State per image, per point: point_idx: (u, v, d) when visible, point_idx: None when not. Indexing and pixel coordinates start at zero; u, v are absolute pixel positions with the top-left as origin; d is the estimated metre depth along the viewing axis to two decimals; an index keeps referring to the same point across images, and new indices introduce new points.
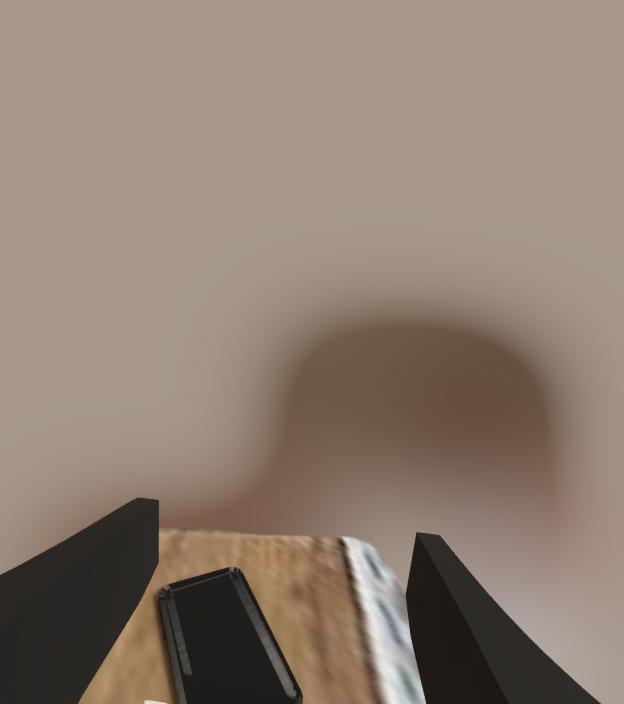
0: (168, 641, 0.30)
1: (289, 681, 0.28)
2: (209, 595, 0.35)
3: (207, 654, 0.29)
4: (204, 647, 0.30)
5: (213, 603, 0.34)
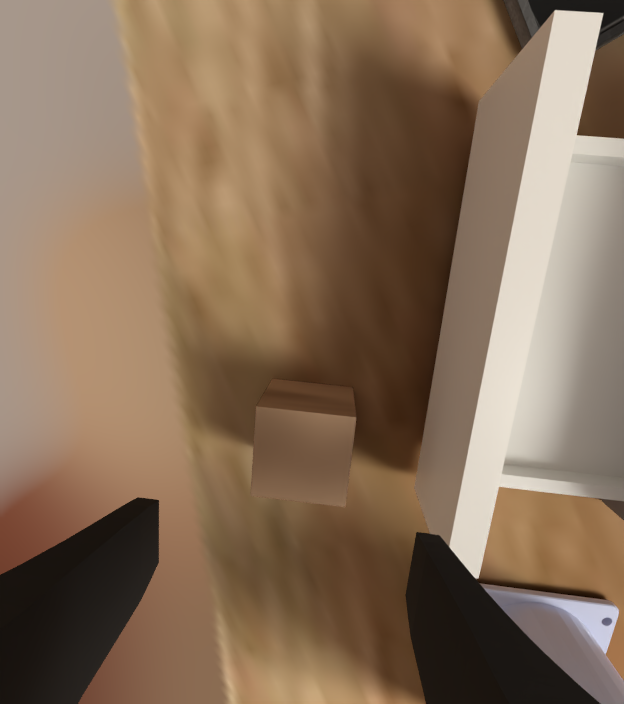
0: None
1: None
2: None
3: None
4: None
5: None
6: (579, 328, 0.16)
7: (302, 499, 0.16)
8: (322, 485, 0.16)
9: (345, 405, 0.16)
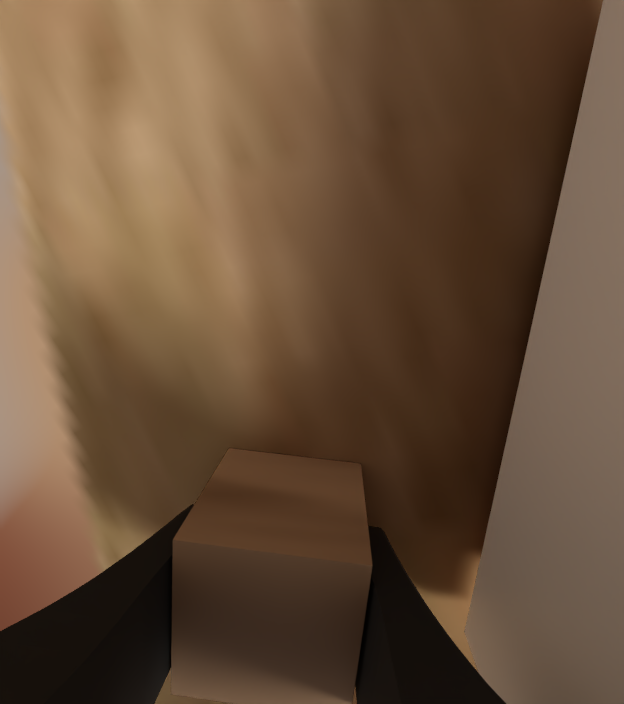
0: None
1: None
2: None
3: None
4: None
5: None
6: None
7: None
8: (305, 682, 0.08)
9: (349, 522, 0.09)
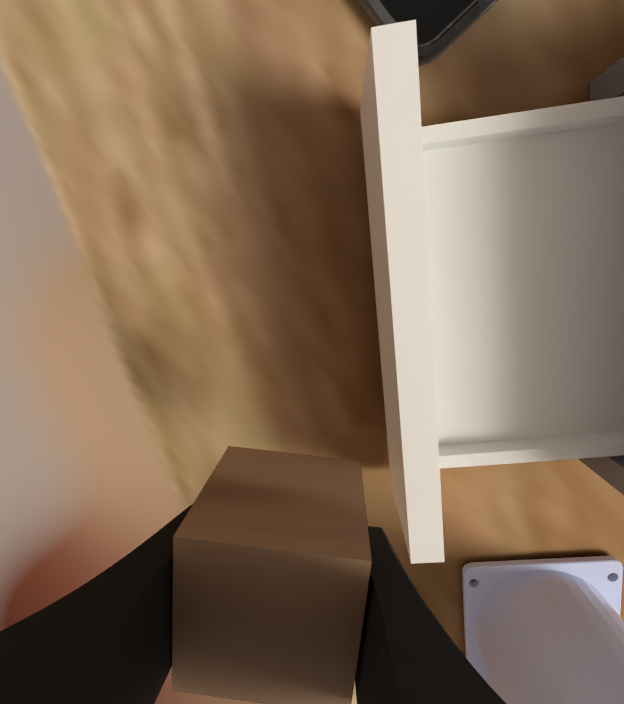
0: None
1: None
2: None
3: None
4: None
5: None
6: (507, 299, 0.16)
7: (268, 700, 0.08)
8: (305, 678, 0.08)
9: (349, 519, 0.09)
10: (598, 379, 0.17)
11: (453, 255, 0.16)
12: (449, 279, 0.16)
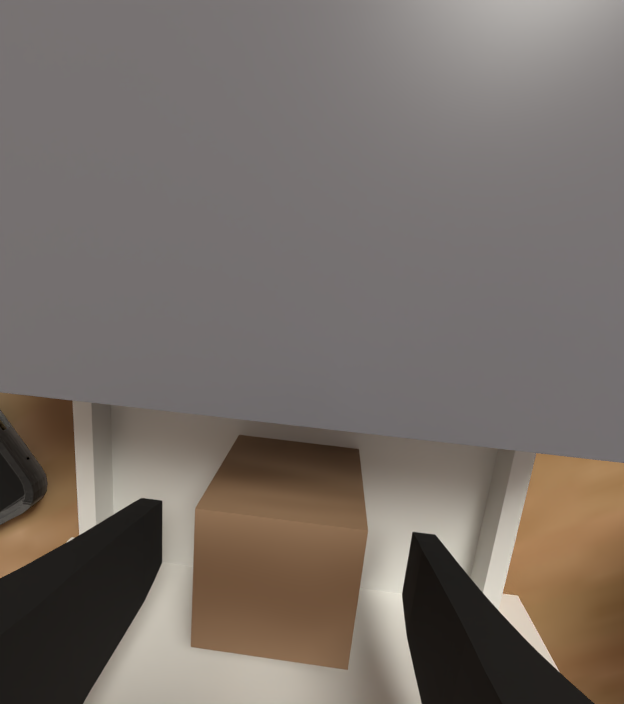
0: None
1: None
2: None
3: None
4: None
5: None
6: None
7: (276, 655, 0.10)
8: (309, 635, 0.09)
9: (348, 497, 0.10)
10: None
11: None
12: None
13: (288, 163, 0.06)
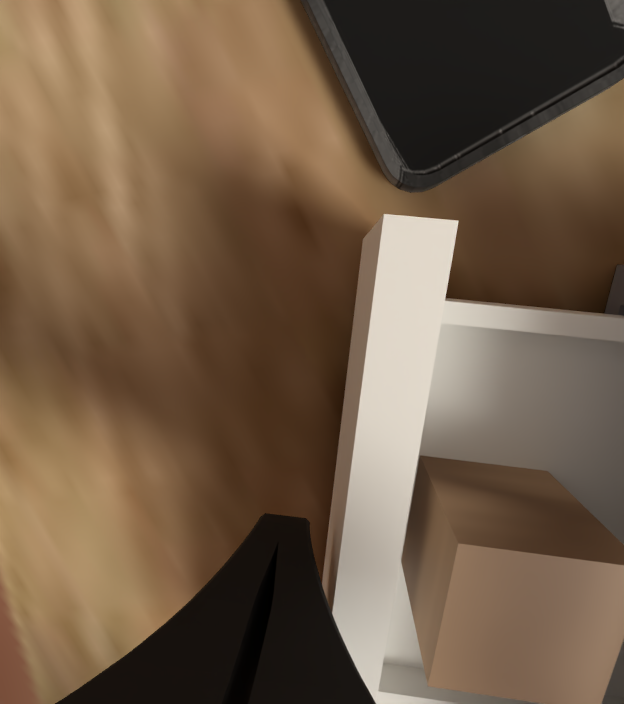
0: None
1: None
2: None
3: None
4: None
5: None
6: None
7: (445, 625, 0.09)
8: (472, 657, 0.09)
9: None
10: None
11: (444, 452, 0.12)
12: None
13: None
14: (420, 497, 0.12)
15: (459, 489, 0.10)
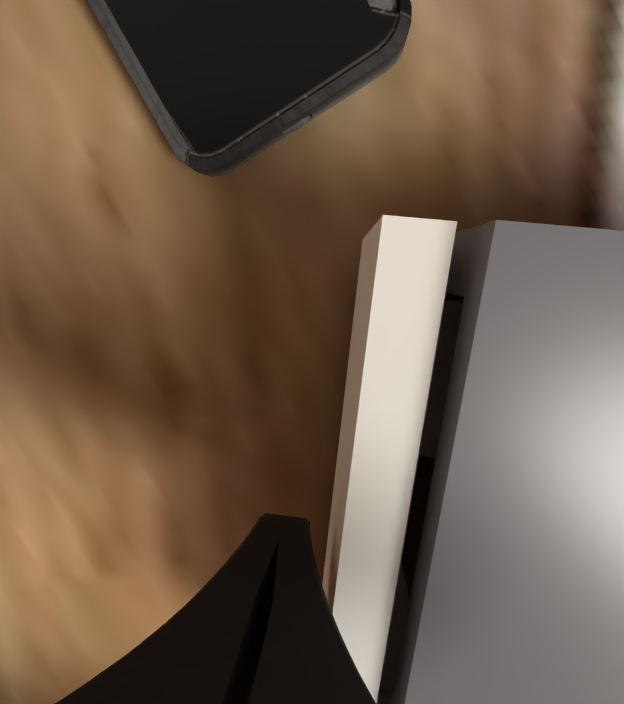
0: None
1: None
2: None
3: None
4: None
5: None
6: None
7: None
8: None
9: None
10: None
11: None
12: None
13: None
14: (420, 497, 0.12)
15: None
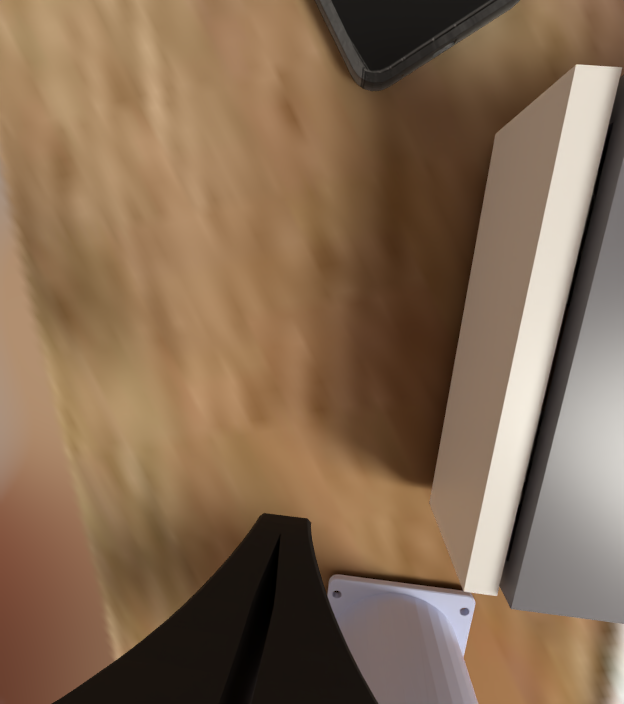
0: None
1: None
2: None
3: None
4: None
5: None
6: None
7: None
8: None
9: None
10: None
11: None
12: None
13: None
14: None
15: None
